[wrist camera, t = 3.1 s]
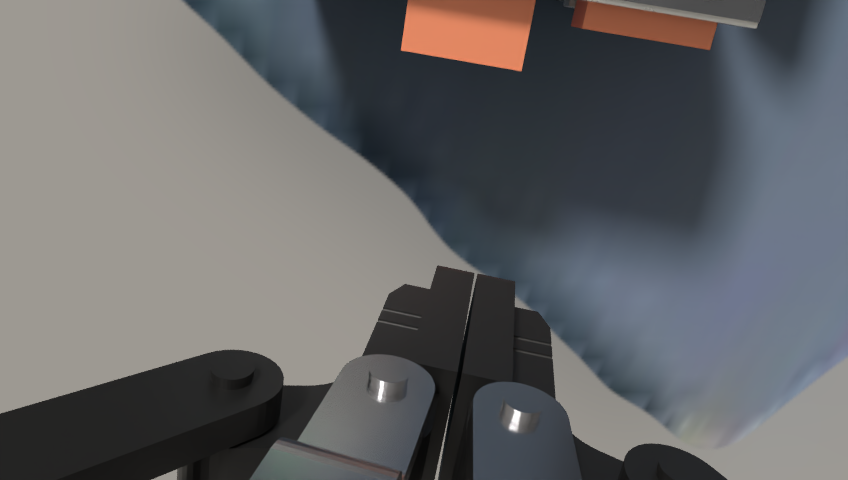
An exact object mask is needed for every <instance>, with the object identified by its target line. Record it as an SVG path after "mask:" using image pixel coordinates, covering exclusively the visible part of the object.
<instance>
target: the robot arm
mask: <svg viewBox="0 0 848 480" xmlns="http://www.w3.org/2000/svg"><path fill="white" fill-rule="evenodd" d="M473 279H474V273H472V272H467V271H462V270H457V269H452V268H448V267H442V266H437V268H436V272H435V275H434V278H433V282H432V285H431V288H430V289H426V288H421V287H417V286H412V285H407V284H404V285H403V286H401V287H400V288H398V289H396V290H395V291H393V292H391V293H390V294H389V295H388V298H387V300H386V302H385V305H384V307H383V310H382V312H381V314H380V316H379V318H378V322H377V323H376V326H375V328H374V330H373V332H372V335H371V337H370V339H369V342H368V344H367V346H366V349H365V351H364V353H363V355H362V356H361V357H359V358H356V359H354V360H352V361H350V362H349V363H347V364H346V365H345V366H344V367H343V369H342V370H341V372H340V373H339V375H338V376H337V378H336V380H335V381H334V382H333V383H329V384H324V385H316V386H286V385H285V386H284V385H283V380H284V377H283V373H282V371H281V369H280V367H279V366H277V364H276V363H275V362H273V361H272V360H270V359H269V358H267V357H265V356H263V355H260V354H257V353H253V352H249V351H243V350H222V351H215V352H211V353H207V354H203V355H200V356H196V357H193V358H189V359H186V360H183V361H179V362H176V363H172V364H169V365H166V366H162V367H159V368H155V369H152V370H148V371H145V372H141V373H138V374H135V375H131V376H128V377H124V378H121V379H118V380H114V381H111V382H107V383H104V384H100V385H97V386H94V387H91V388H87V389H83V390H80V391H77V392H73V393H70V394H66V395H63V396H59V397H56V398H52V399H49V400H46V401H42V402H39V403H35V404H32V405H29V406H25V407H22V408H18V409H15V410H12V411H8V412H5V413H1V414H0V480H151V479H154V478H156V477H158V476H161V475H164V474H166V473H168V472H171V471H173V470H176V469H177V480H434V479H435V474H436V470H437V464H438V460H439V456H440V451H441V446H442V442H443V437H444V433H445V428H446V423H447V419H448V414H449V419H448V426H447V431H446V436H445V442H444V448H443V454H442V459H441V465H440V472H439V477H438V480H727V479H726V478H725V477H724V476H722V475H721V474H720V473H719V472H717V471H716V470H715V469H714V468H712V467H711V466H710V465H708V464H707V463H705V462H704V461H703V460H701V459H699V458H698V457H696V456H694V455H692V454H690V453H688V452H686V451H683V450H681V449H678V448H675V447H671V446H667V445H661V444H643V445H638V446H636V447H634V448H632V449H631V450H630V451H628V453H627V454H626V456H625V459H624V462H623V461H620V460H618V459H616V458H614V457H612V456H609V455H607V454H605V453H603V452H600V451H598V450H596V449H594V448H592V447H590V446H589V445H587V444H585V443H584V442H582V441H581V440H579V439H578V438H577V437H575V436H574V435H573V434H572V431H571V427H570V422H569V418H568V415H567V413H566V411H565V410H564V408H563V407H562V406H561V404H560V403H558V402H557V401H556V399H555V386H554V373H553V360H552V347H551V332H550V327H549V326H548V324H547V323H546V322H545V320H544V319H543V318H542V316H541V315H540V314H539V313H538V312H536V311H531V310H526V309H521V308H517V307H515V281H510V280H506V279H501V278H496V277H491V276H486V275H482V274H478V275H477V279H476V283H475V288H474V292H473V297H472V301H471V306H470V311H469V316H468V321H467V325H466V320H467V314H468V308H469V302H470V296H471V290H472V284H473ZM465 325H466V329H465ZM464 331H465V334H464ZM463 337H464V339H463ZM452 395H453V396H452ZM451 400H452V402H451ZM450 405H451V408H450ZM449 409H450V413H449Z"/></svg>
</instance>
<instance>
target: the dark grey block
mask: <svg viewBox="0 0 848 480" xmlns="http://www.w3.org/2000/svg"><path fill="white" fill-rule="evenodd" d="M558 1H564V4H563V7H569V8H575V5H576V1H577V0H558ZM582 1H588V2H594V3H600V4H606V5H612V6H618V7H624V8H630V9H636V10H642V11H648V12H654V13H660V14H666V15H672V16H678V17H684V18H690V19H696V20H702V21H708V22H714V23H720V24H726V25H732V26H738V27H744V28H754V29H757V26H758V23H759V22H760V19H761V16H762V13H763V10H764V6H765V3H766V0H582Z"/></svg>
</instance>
